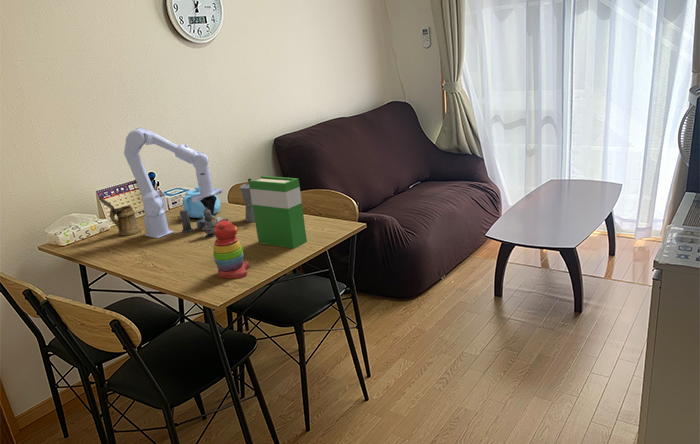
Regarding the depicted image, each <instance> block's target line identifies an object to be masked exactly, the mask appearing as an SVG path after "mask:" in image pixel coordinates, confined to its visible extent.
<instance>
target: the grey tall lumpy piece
mask: <svg viewBox="0 0 700 444" xmlns="http://www.w3.org/2000/svg"><path fill="white" fill-rule="evenodd" d="M203 213H204V220H205V227H203V229H202V230H203V232H204V233H205V234H206V235H204V237H205V238H206V239H212V238H216V236H215V234H214V227H215V225H214V223H213V217H212V216H213V215H211V211H210V210H209V209H207V207H206V209H205V210H204V211H203Z"/></svg>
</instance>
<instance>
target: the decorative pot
mask: <svg viewBox="0 0 700 444" xmlns="http://www.w3.org/2000/svg"><path fill="white" fill-rule="evenodd" d="M213 189H214V190H215V189H216V188H215V187H213ZM198 194H200V192H199V186H198V185H197V186H195V187H194V189H193V190H187V191H186V192H185V196H184V197H183V198H182V204H183V205H182V206H183V210H188V215H189V218H192V219H193V218H199V220H202V219H204V217H203V216H204V213H203V211H204V210H205V209H206V208H205V207H204V205H203V204H202V203H201V202H200V201H197V202H192V197H194V196H196V195H198ZM214 196H215V197H216V198H217V199H216V202H215V206H214V214H212V216H214V215H216V214H217V213H218V212H220V209H221V207H222V206H221V202H220V199H219V197H218V194H217V195H214Z"/></svg>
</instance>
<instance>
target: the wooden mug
mask: <svg viewBox="0 0 700 444" xmlns="http://www.w3.org/2000/svg"><path fill="white" fill-rule="evenodd" d="M99 202H101V203H102V204H103V205H104V206H106V207H107V208H109V209H110V211H109V218H110V220H111V221H112V223H113V224H114V225H115V226H116V227H117V229H118V232H117V233H118V236H121V237H128V236H132V235H136V234H138V233H140V232H141V231H142V229H141V227H140V226H139V223H138V221H137V218H136V215H135V214H136V213H135V210H134V209H133V207H132V205H125V206H121V207H118V208H116V207H114V206H113V205H112V204H111V203H110V202H108V201H107V200H105V199H104V198H102V197H99ZM115 216H116V217H117V219H116V218H115Z"/></svg>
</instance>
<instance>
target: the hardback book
mask: <svg viewBox="0 0 700 444" xmlns="http://www.w3.org/2000/svg"><path fill="white" fill-rule="evenodd" d="M248 183H249V187H250V194H251V200H252V206H253V212H254V218H255V222H254V223H255V229H256V235H257V241H258V244H265V245H271V246H277V247H282V248H286V249H287V248H288V249H293V250H295V249H296V248H298V247H300V246H302V245H303V244H306V243H307V242H308V241H307V233H306V232H307V231H306V224H305V218H304V210H303V203H302V201H303V200H302V195H301V188H300V187H301V186H300V180H299V178H296V177H295V178H294V177H283V176H270V175H269V176H268V175H262V176H260V179H256V180H253V179H251V180H250V181H249V182H248Z"/></svg>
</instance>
